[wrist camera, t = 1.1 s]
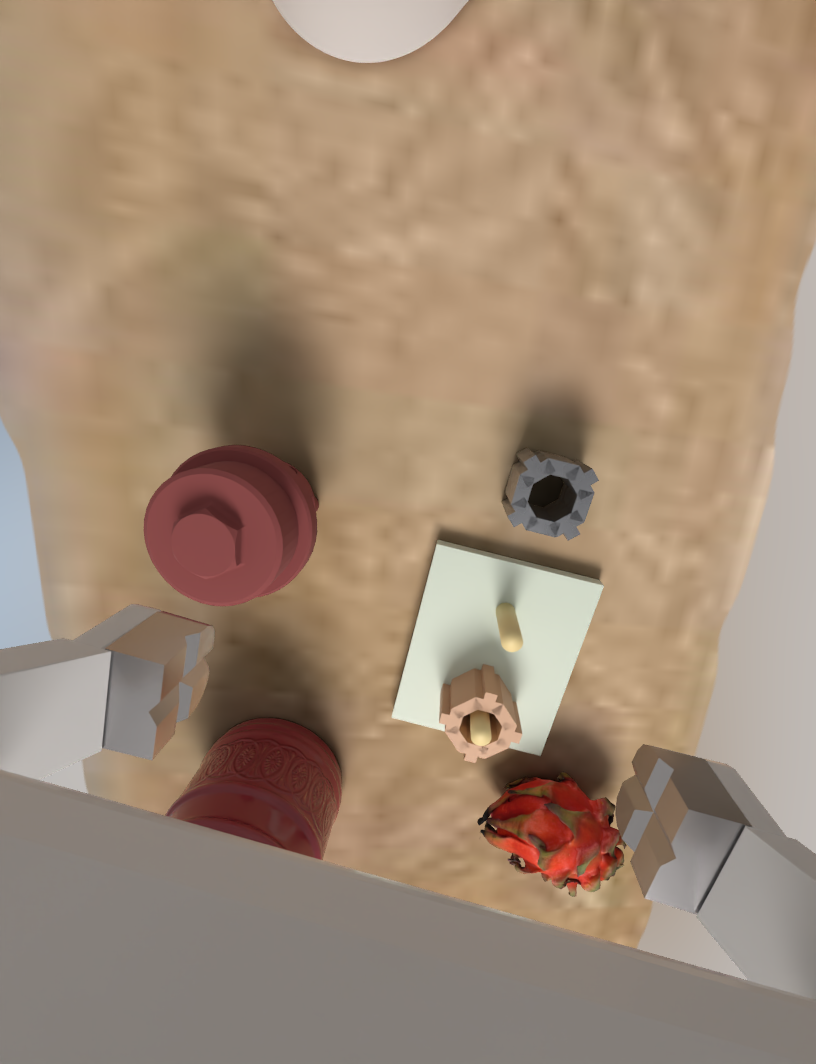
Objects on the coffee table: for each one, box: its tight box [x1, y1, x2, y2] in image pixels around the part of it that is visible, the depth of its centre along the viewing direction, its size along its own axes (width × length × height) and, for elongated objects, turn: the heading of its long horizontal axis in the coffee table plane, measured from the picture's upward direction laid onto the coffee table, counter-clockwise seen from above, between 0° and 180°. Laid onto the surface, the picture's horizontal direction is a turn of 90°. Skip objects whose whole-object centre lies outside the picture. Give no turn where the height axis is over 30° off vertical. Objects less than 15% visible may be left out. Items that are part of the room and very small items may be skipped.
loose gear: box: [502, 447, 599, 540], centre depth 35 cm, size 5×5×4 cm
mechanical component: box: [144, 445, 319, 606], centre depth 34 cm, size 12×10×10 cm
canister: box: [165, 718, 342, 860], centre depth 39 cm, size 13×13×18 cm
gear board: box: [392, 540, 604, 763], centre depth 39 cm, size 16×13×6 cm
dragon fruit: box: [478, 772, 627, 897], centre depth 42 cm, size 8×8×12 cm
